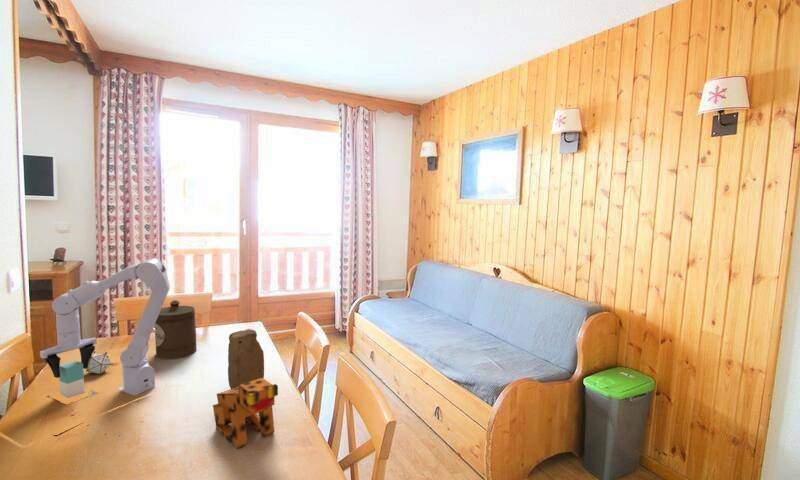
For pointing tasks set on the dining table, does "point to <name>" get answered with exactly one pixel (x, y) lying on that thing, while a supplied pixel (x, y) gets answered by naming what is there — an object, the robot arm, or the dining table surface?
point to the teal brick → (71, 372)
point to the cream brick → (72, 388)
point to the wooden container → (175, 331)
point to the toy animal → (245, 410)
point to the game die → (98, 363)
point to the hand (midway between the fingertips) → (71, 372)
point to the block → (244, 358)
